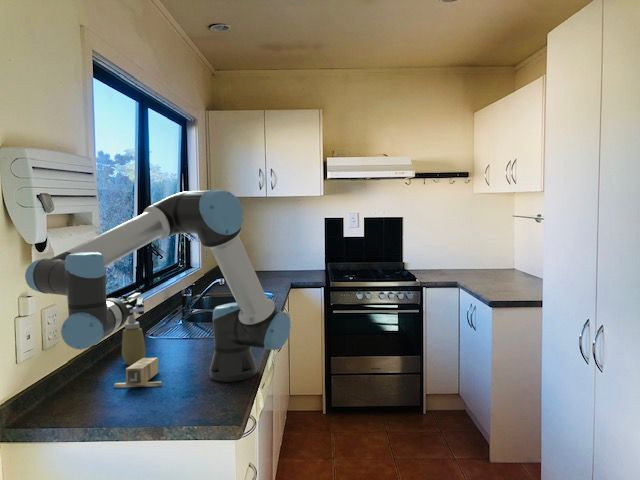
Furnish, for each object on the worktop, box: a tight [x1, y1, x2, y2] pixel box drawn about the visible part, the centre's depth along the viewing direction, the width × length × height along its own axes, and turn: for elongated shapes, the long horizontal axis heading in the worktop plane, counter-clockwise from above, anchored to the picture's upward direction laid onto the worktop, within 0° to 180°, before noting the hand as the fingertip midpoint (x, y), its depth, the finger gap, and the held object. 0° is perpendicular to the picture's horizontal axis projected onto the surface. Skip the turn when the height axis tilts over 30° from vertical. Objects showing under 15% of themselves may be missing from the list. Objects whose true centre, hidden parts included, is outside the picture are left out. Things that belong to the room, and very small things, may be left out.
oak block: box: [125, 357, 159, 386], centre depth 164 cm, size 5×5×16 cm
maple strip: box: [114, 381, 163, 389], centre depth 159 cm, size 14×1×1 cm, turn 92°
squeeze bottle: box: [121, 312, 147, 366], centre depth 182 cm, size 8×8×18 cm
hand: (138, 297), depth 143 cm, fingers closed
